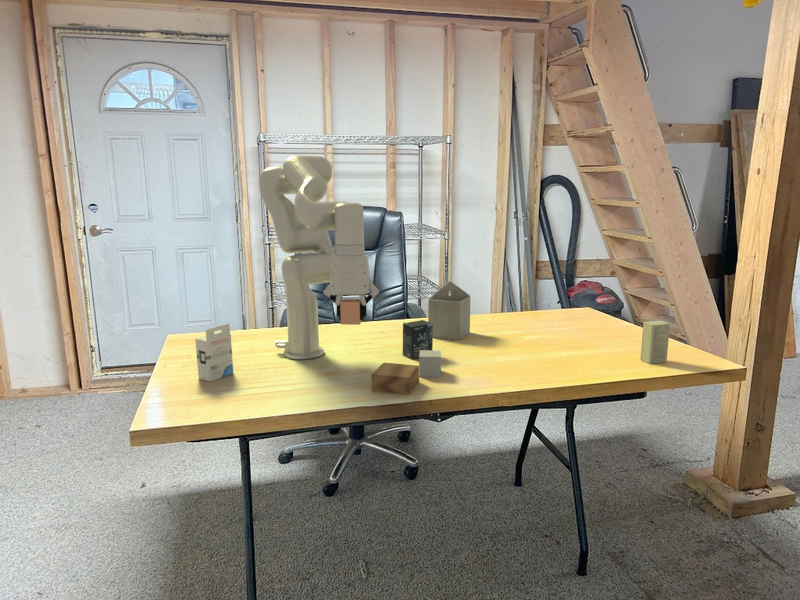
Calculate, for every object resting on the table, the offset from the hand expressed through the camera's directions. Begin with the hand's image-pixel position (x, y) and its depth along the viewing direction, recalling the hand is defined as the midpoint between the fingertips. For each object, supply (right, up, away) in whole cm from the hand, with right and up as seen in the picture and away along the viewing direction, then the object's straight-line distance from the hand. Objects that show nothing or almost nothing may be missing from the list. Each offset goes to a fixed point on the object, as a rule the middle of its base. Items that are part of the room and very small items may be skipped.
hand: (351, 318), depth 150 cm
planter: (+32, -8, +48) cm, 58 cm away
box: (+18, -13, +27) cm, 35 cm away
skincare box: (+89, -14, +20) cm, 92 cm away
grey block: (+21, -16, +10) cm, 29 cm away
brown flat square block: (+12, -18, 0) cm, 22 cm away
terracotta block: (0, -1, 0) cm, 1 cm away
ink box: (-39, -17, +9) cm, 43 cm away
